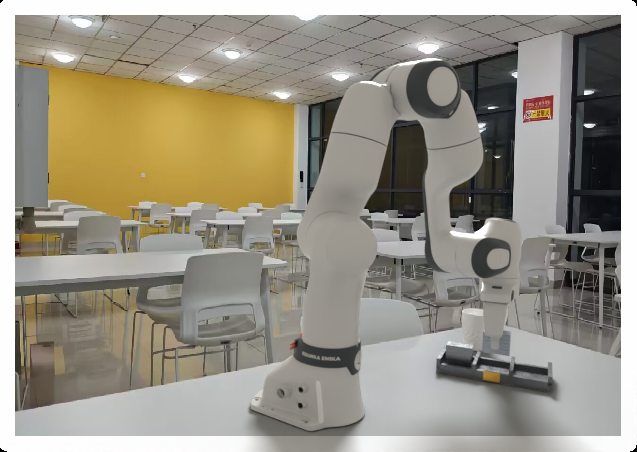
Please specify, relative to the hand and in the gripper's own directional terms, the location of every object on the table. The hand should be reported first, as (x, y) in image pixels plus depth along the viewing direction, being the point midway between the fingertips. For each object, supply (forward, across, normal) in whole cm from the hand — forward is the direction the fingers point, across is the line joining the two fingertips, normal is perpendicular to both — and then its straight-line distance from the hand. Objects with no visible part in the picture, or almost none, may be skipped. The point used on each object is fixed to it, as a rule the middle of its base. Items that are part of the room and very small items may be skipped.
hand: (496, 345), depth 120 cm
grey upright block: (+2, 0, 0) cm, 2 cm away
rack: (+7, 0, 0) cm, 7 cm away
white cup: (+7, -19, -7) cm, 21 cm away
